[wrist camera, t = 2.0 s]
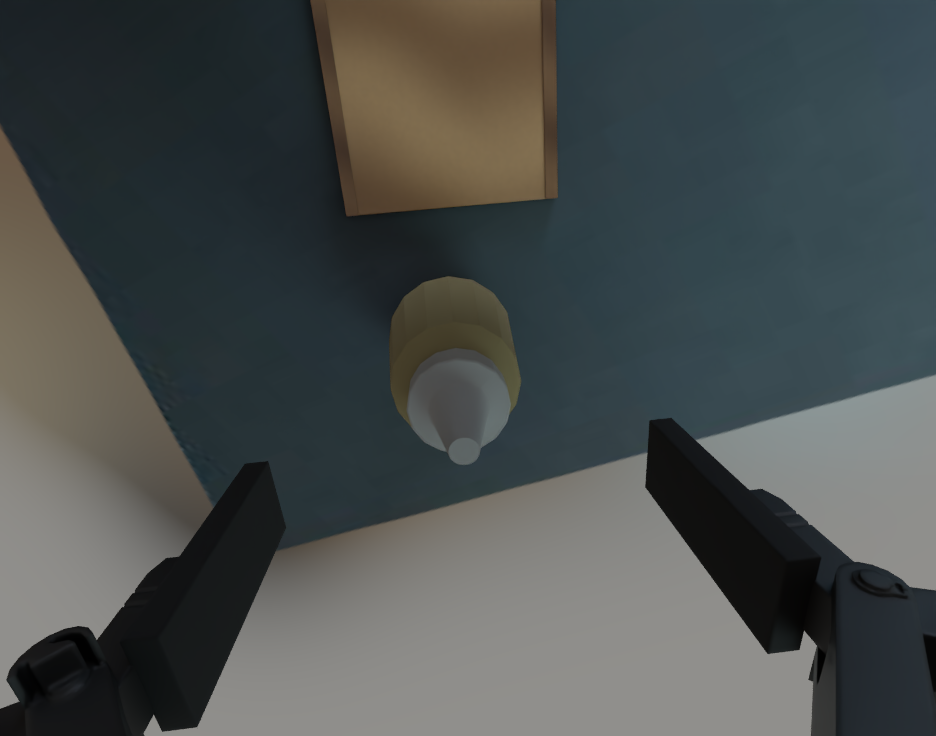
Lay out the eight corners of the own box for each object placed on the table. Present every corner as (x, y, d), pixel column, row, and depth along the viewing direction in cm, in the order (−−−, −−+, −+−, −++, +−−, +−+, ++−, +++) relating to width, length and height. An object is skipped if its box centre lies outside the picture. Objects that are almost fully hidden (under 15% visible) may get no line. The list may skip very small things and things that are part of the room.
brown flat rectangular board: (279, -195, 24) (276, -204, 23) (550, -210, 24) (553, -219, 24) (348, 216, 31) (346, 216, 30) (555, 197, 31) (557, 197, 31)
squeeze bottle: (424, 390, 36) (415, 567, 19) (373, 297, 33) (309, 406, 16) (520, 347, 35) (600, 491, 18) (476, 248, 32) (524, 308, 15)
